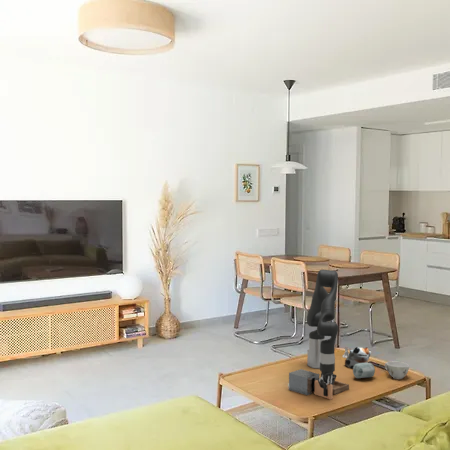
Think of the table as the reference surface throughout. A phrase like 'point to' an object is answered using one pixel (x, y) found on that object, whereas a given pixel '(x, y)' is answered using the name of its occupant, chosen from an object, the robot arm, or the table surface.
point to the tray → (339, 387)
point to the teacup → (397, 369)
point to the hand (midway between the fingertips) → (326, 395)
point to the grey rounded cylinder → (363, 370)
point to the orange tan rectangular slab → (320, 390)
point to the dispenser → (302, 381)
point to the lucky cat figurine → (357, 356)
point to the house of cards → (346, 353)
